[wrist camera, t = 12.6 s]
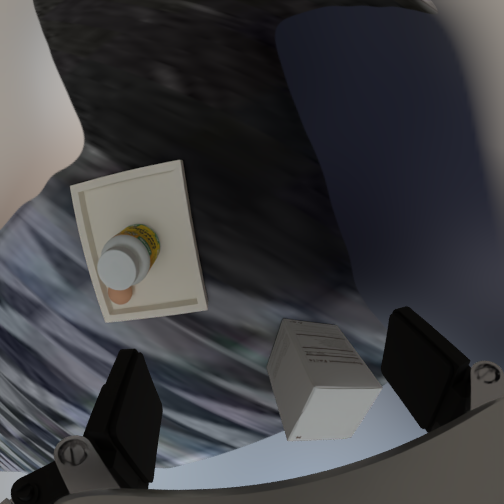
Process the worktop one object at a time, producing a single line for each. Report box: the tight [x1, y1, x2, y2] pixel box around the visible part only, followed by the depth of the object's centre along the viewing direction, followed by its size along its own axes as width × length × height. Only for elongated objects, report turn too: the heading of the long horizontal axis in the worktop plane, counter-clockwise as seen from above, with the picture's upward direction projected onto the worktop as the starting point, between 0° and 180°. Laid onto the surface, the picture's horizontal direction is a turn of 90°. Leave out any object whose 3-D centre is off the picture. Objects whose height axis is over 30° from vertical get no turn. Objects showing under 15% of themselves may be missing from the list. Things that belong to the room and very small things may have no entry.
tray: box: [70, 160, 208, 323], centre depth 33 cm, size 18×14×2 cm
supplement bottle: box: [97, 224, 160, 290], centre depth 29 cm, size 5×5×10 cm
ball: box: [108, 286, 132, 305], centre depth 33 cm, size 3×3×3 cm
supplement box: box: [267, 319, 382, 441], centre depth 34 cm, size 9×9×15 cm
